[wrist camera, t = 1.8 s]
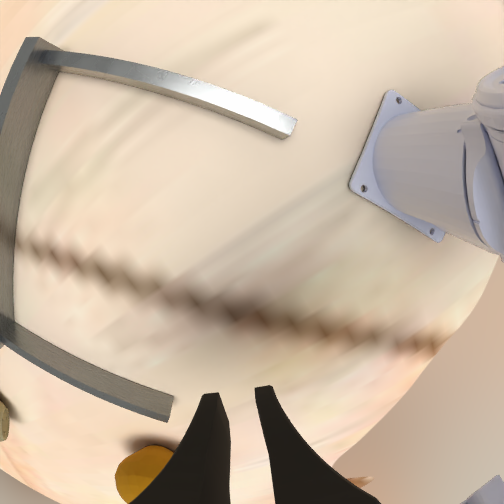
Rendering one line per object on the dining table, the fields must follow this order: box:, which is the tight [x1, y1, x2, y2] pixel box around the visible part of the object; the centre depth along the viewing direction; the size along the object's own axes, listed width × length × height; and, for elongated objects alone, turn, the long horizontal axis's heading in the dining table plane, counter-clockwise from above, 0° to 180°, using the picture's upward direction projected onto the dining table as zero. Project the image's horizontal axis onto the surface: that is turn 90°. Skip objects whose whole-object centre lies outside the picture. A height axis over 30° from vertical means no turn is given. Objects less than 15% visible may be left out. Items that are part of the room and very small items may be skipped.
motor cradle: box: [0, 37, 297, 423], centre depth 14 cm, size 26×25×6 cm
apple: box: [115, 445, 174, 504], centre depth 20 cm, size 9×9×9 cm
